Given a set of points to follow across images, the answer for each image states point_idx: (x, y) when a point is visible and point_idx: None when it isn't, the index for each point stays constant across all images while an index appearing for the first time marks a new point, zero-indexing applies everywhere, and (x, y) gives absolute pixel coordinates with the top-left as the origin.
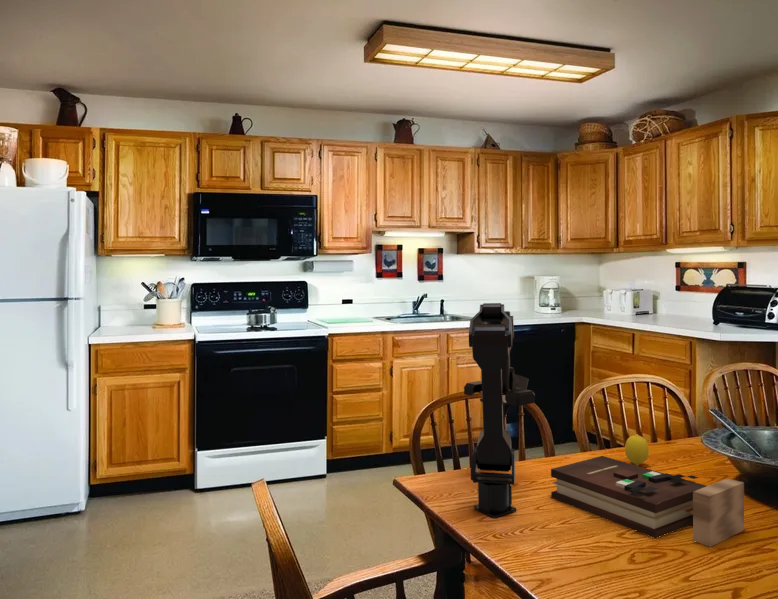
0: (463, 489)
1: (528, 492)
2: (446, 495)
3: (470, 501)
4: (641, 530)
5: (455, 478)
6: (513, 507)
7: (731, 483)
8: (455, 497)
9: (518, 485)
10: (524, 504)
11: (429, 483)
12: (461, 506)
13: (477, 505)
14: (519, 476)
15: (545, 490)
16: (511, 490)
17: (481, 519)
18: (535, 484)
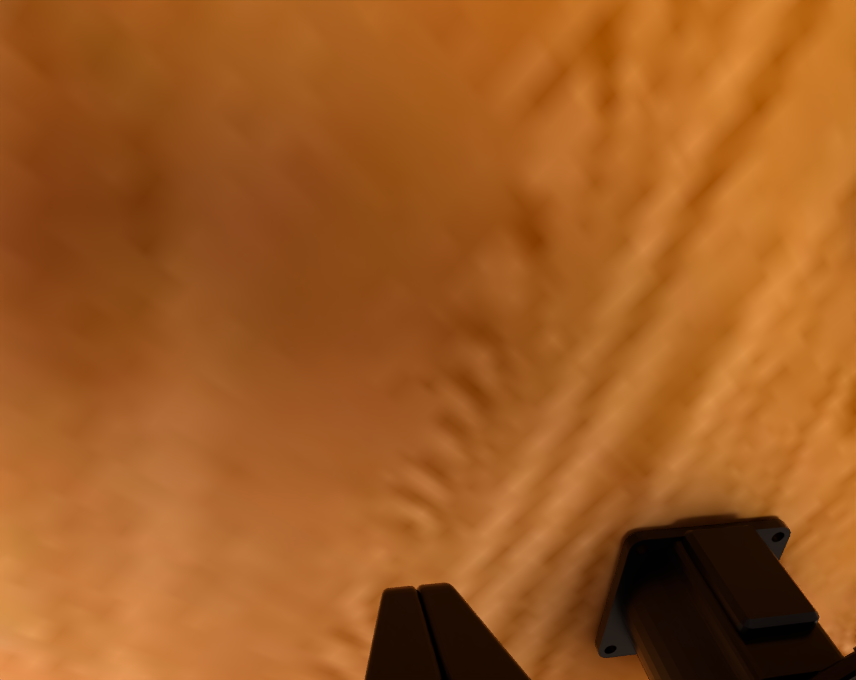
0: (341, 554)
1: (701, 276)
2: (354, 658)
3: (514, 609)
4: None
5: (106, 490)
6: (771, 532)
7: None
8: None
9: (563, 225)
10: (773, 430)
11: (102, 652)
12: (526, 664)
13: (610, 639)
14: (419, 26)
15: (787, 144)
16: (803, 594)
17: None
18: (659, 92)
